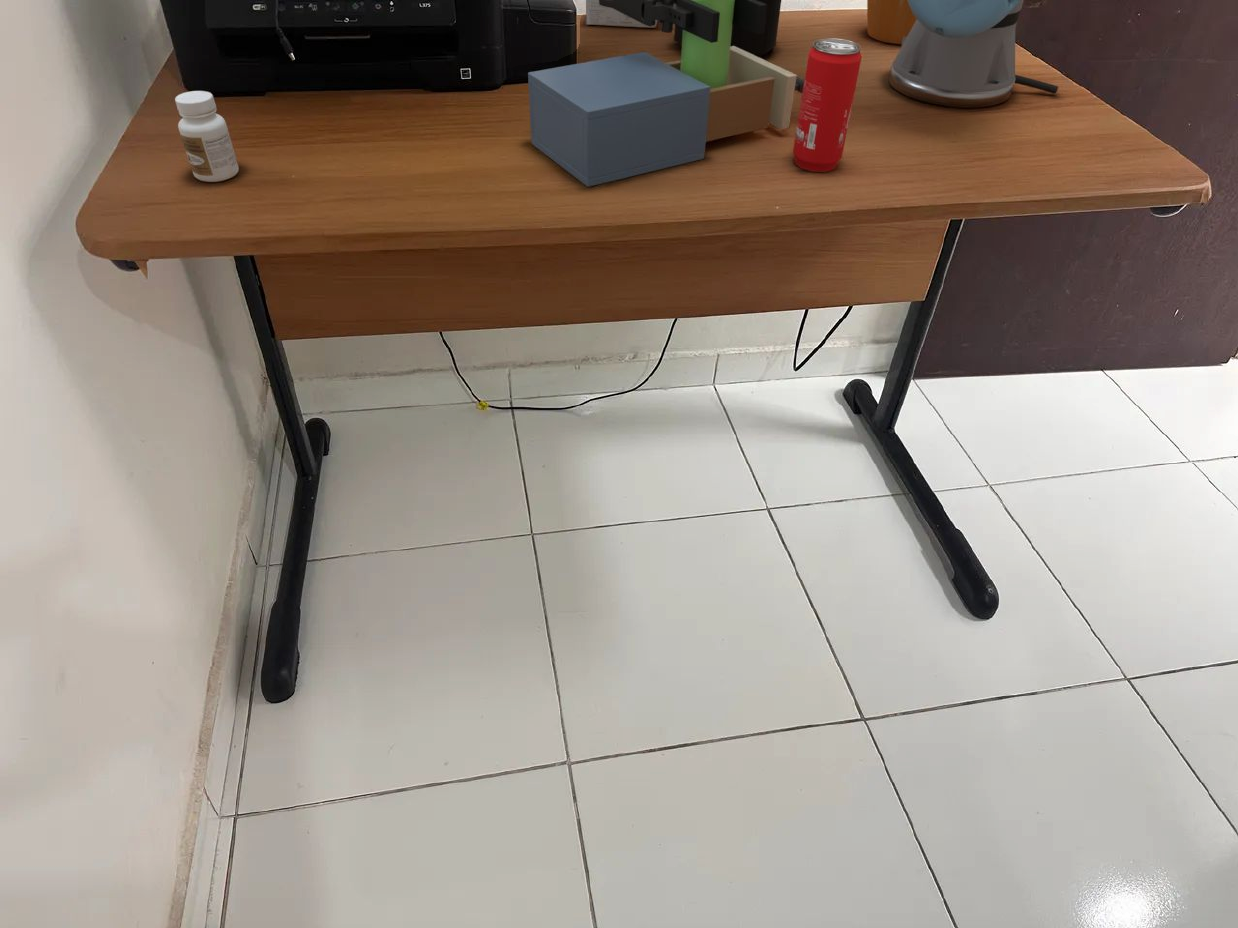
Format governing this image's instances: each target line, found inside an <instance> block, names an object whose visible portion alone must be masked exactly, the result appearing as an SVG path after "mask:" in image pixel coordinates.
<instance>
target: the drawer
mask: <svg viewBox="0 0 1238 928" xmlns="http://www.w3.org/2000/svg"><path fill="white" fill-rule="evenodd" d="M665 63H666V64H668V65H670V66H672V67H674V68H676V69H678V70H680V68H681V59H678V60H674V61H668V62H665ZM804 80H805V78H802V77H800V76H799V75H797V74H795V73H793V72H791V71H789V70H787V69H785V68H783V67H781V66H778V65H776V64H774V63H772V62H771V61H767V60H766V59H763V58H762V57H757V56H755V55H753V54H750V53H748V52H746V51H744V50H742V49H740V48H738V47H735V46H731V47H730V55H729V66H728V76H727V86H722V87H717V88H712V89H710V94H709V95H710V98H709V109H708V120H707V132H706V143H707V142H711V141H715V140H719V139H723V138H728V137H733V136H736V135H740V134H744V133H745V134H746V133H749V132H753V131H757V130H762V129H767V128H769V125H772V126H774V127H776V128H777V129H778V130H785V129H788V128H790V123H791V117H792V109H793V104H794V103H793V102H794V96H795V92H796V91H797V92H798V93H801V94H802V92H803V86H804Z"/></svg>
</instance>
